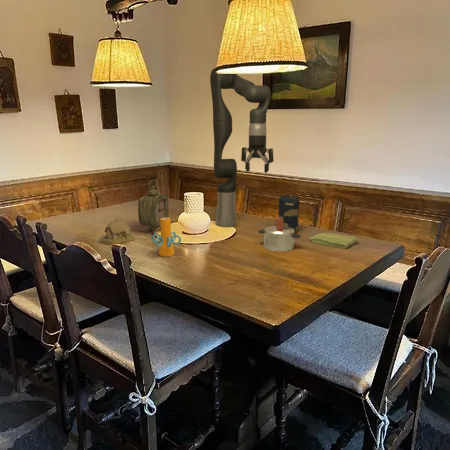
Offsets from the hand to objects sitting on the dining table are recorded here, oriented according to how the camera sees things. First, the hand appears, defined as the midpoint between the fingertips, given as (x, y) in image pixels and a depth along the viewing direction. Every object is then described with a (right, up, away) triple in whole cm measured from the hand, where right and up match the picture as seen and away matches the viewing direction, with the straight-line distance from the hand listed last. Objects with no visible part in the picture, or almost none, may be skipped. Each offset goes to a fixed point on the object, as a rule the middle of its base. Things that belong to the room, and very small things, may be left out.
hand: (256, 171), depth 188 cm
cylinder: (-38, -36, -15) cm, 54 cm away
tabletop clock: (-48, -26, +19) cm, 58 cm away
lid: (+9, -27, -7) cm, 29 cm away
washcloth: (+34, -32, +1) cm, 46 cm away
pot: (+9, -33, -5) cm, 34 cm away
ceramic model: (-62, -31, +4) cm, 69 cm away
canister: (+16, -27, +17) cm, 36 cm away
